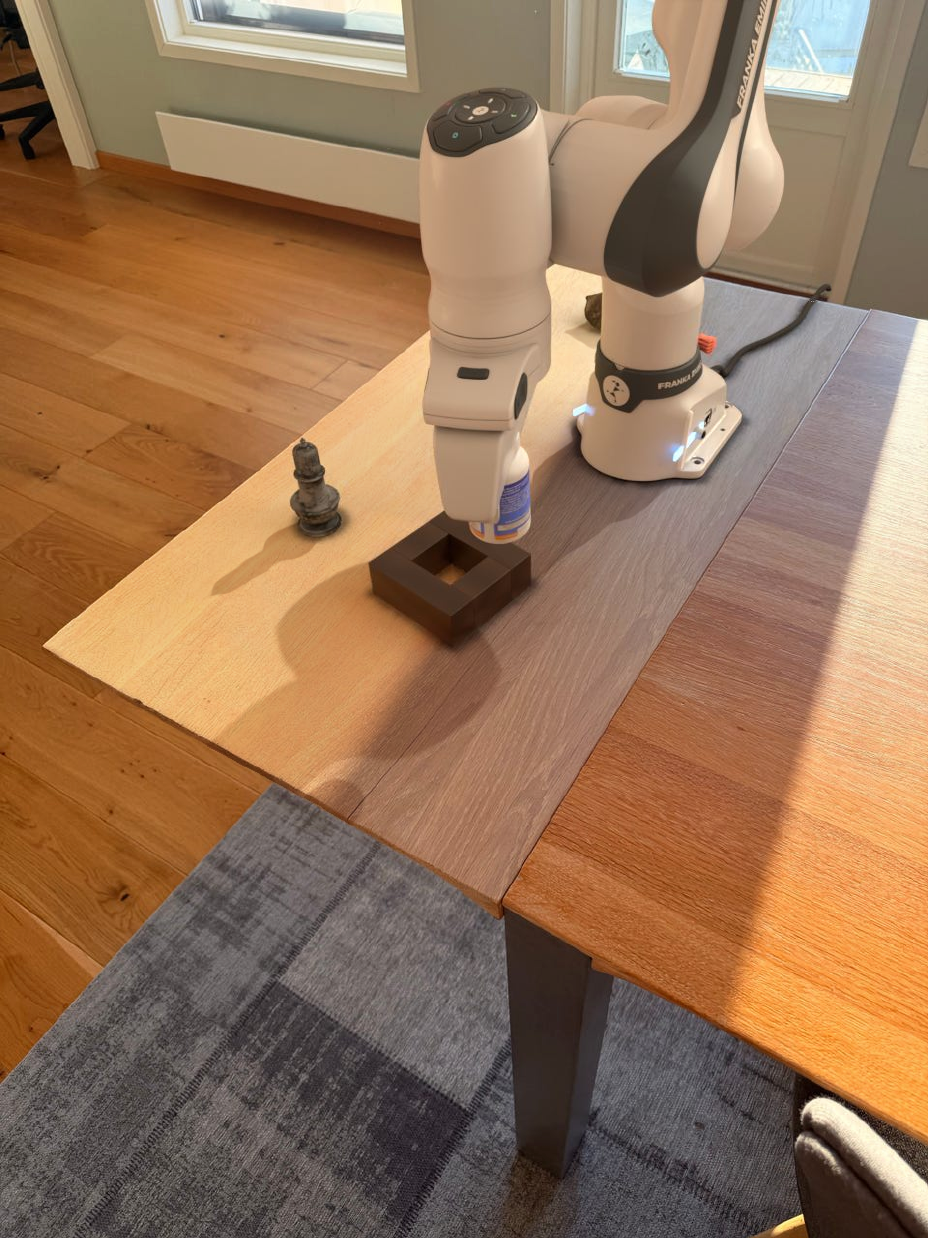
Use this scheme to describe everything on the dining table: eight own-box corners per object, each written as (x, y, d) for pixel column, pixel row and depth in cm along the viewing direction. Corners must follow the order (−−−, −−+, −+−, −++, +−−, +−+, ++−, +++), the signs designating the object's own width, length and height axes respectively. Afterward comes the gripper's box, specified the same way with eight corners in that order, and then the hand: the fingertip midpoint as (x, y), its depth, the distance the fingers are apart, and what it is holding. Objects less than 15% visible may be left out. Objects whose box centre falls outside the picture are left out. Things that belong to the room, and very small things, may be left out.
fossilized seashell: (651, 291, 139) (585, 302, 142) (649, 266, 133) (580, 277, 135) (654, 335, 138) (588, 345, 140) (652, 312, 131) (583, 322, 134)
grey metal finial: (336, 540, 105) (319, 455, 97) (288, 536, 106) (267, 451, 98) (350, 509, 109) (335, 424, 101) (304, 505, 110) (285, 420, 102)
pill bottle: (537, 511, 80) (537, 418, 73) (520, 551, 77) (518, 456, 70) (479, 502, 82) (473, 409, 75) (460, 540, 78) (452, 447, 71)
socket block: (450, 537, 105) (448, 507, 101) (531, 584, 98) (531, 553, 95) (373, 593, 99) (367, 562, 96) (453, 647, 93) (450, 616, 89)
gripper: (479, 278, 74) (487, 421, 84) (414, 418, 61) (432, 569, 71) (555, 281, 73) (554, 426, 83) (506, 425, 59) (512, 578, 69)
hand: (497, 493), depth 77 cm, fingers closed on pill bottle, 5 cm apart
